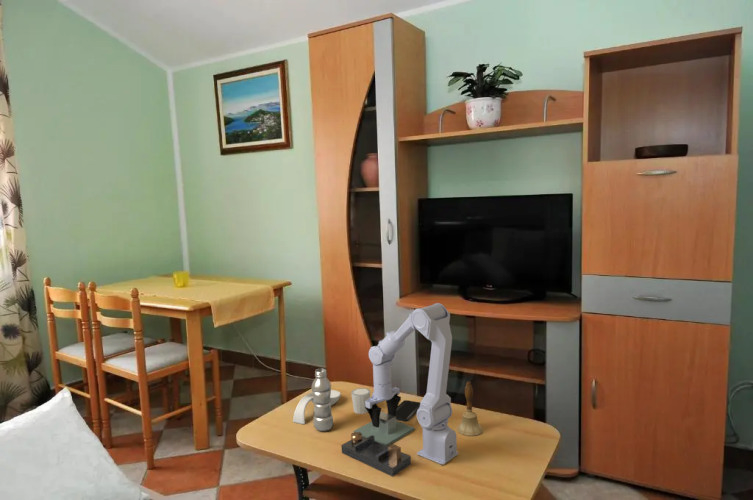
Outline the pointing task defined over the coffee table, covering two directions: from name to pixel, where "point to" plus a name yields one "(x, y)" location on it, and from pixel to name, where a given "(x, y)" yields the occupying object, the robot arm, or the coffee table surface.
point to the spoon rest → (300, 409)
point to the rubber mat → (385, 438)
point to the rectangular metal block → (386, 423)
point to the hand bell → (469, 416)
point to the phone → (406, 410)
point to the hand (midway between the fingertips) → (383, 422)
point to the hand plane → (376, 454)
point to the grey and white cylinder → (360, 400)
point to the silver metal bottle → (322, 401)
